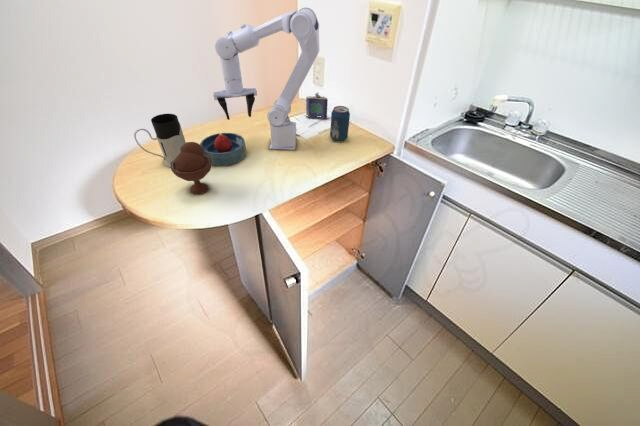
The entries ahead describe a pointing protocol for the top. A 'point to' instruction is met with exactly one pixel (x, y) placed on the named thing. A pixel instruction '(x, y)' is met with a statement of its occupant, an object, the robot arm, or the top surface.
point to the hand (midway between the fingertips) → (239, 117)
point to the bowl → (228, 157)
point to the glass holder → (166, 136)
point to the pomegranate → (222, 143)
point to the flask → (316, 107)
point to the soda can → (339, 123)
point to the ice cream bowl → (192, 166)
